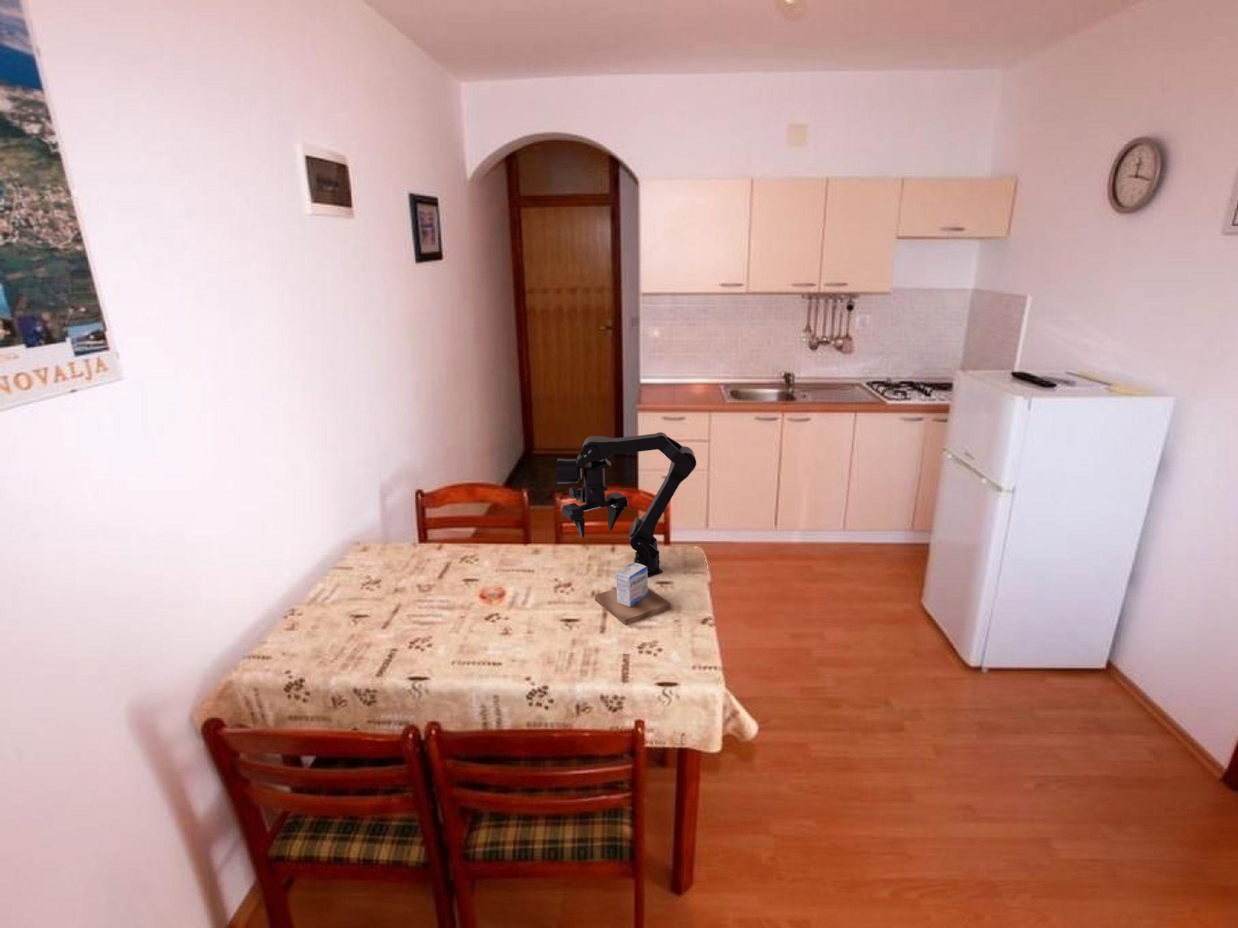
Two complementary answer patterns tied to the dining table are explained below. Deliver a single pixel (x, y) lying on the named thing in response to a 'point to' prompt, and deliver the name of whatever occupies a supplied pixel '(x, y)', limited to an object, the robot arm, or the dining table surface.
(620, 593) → the medicine box
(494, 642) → the dining table surface
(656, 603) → the walnut board
